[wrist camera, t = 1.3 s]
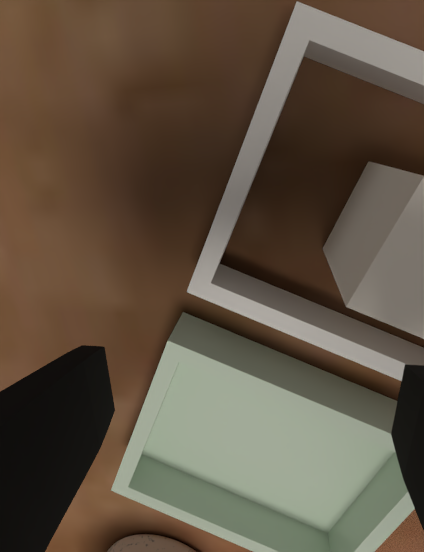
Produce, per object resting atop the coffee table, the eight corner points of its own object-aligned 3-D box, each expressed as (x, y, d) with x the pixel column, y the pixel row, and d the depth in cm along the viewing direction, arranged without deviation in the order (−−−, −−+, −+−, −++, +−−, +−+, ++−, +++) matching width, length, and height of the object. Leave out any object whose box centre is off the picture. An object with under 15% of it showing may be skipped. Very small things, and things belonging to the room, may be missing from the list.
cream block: (461, 198, 14) (575, 236, 9) (405, 282, 16) (473, 359, 11) (368, 161, 15) (424, 175, 9) (322, 248, 16) (345, 306, 11)
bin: (643, 163, 13) (721, 169, 11) (462, 380, 17) (490, 418, 15) (293, 24, 13) (296, 1, 11) (198, 271, 17) (186, 291, 15)
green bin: (432, 415, 18) (458, 462, 16) (332, 536, 22) (339, 588, 20) (182, 312, 18) (167, 340, 16) (130, 449, 23) (111, 490, 20)
